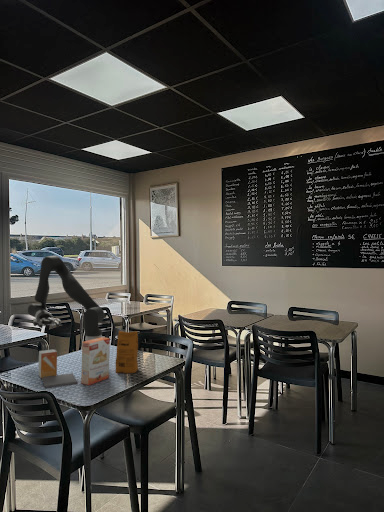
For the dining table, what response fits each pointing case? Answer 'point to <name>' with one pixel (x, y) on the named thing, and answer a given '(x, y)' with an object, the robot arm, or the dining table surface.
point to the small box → (47, 363)
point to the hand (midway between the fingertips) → (50, 326)
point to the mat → (59, 380)
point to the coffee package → (127, 352)
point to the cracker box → (95, 360)
